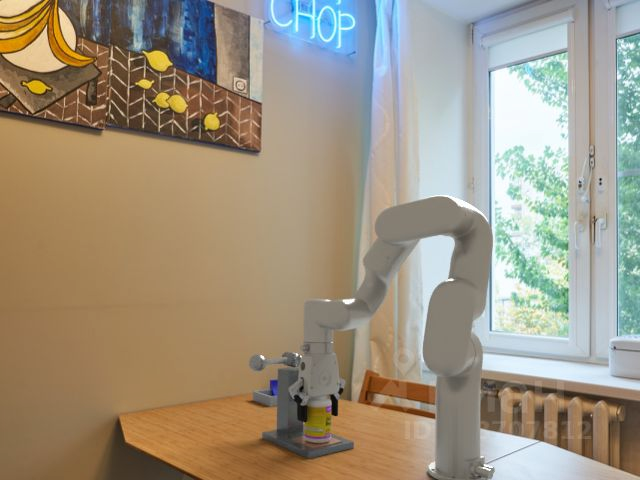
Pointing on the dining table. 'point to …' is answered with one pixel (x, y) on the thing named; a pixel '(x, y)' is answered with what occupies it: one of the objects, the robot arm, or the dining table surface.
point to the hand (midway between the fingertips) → (317, 418)
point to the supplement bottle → (318, 419)
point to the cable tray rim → (265, 397)
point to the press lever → (274, 361)
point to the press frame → (297, 423)
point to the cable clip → (274, 387)
